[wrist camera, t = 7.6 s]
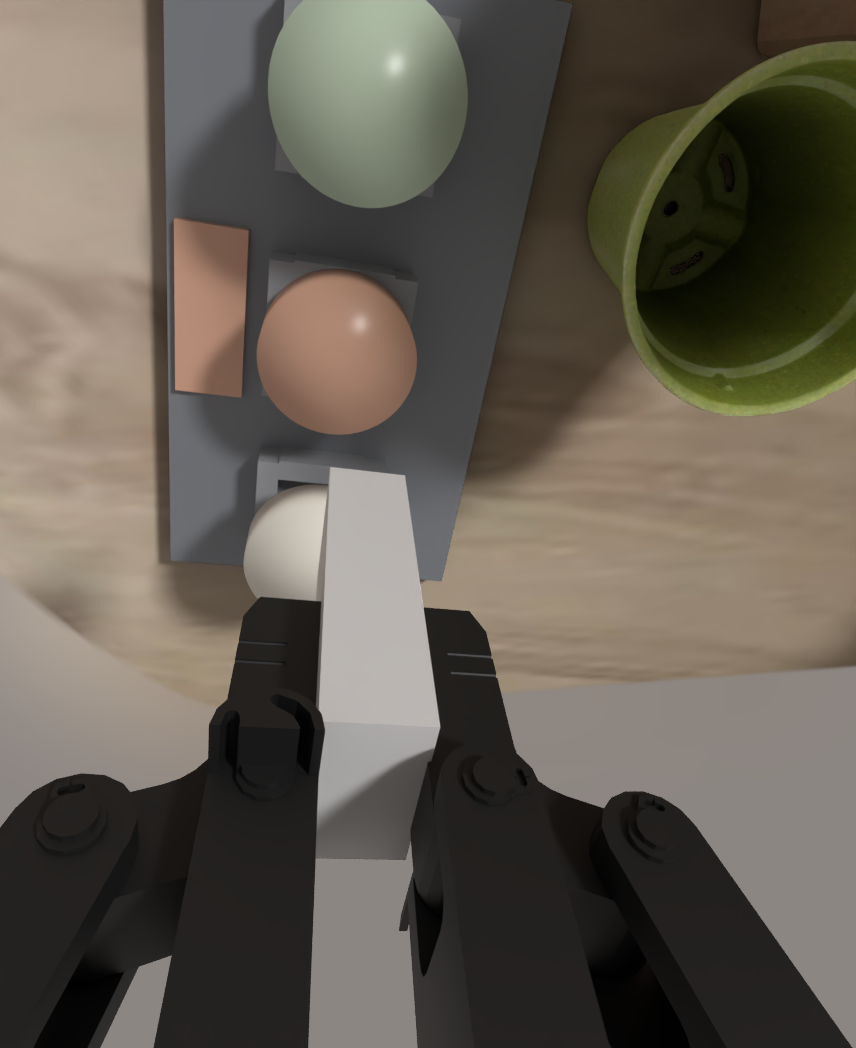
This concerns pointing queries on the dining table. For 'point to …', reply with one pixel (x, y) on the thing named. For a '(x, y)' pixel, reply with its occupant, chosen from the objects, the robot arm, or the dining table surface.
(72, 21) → the dining table surface
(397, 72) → the button sage
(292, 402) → the button terracotta
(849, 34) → the wooden block
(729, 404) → the plant pot
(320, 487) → the button cream
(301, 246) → the console
